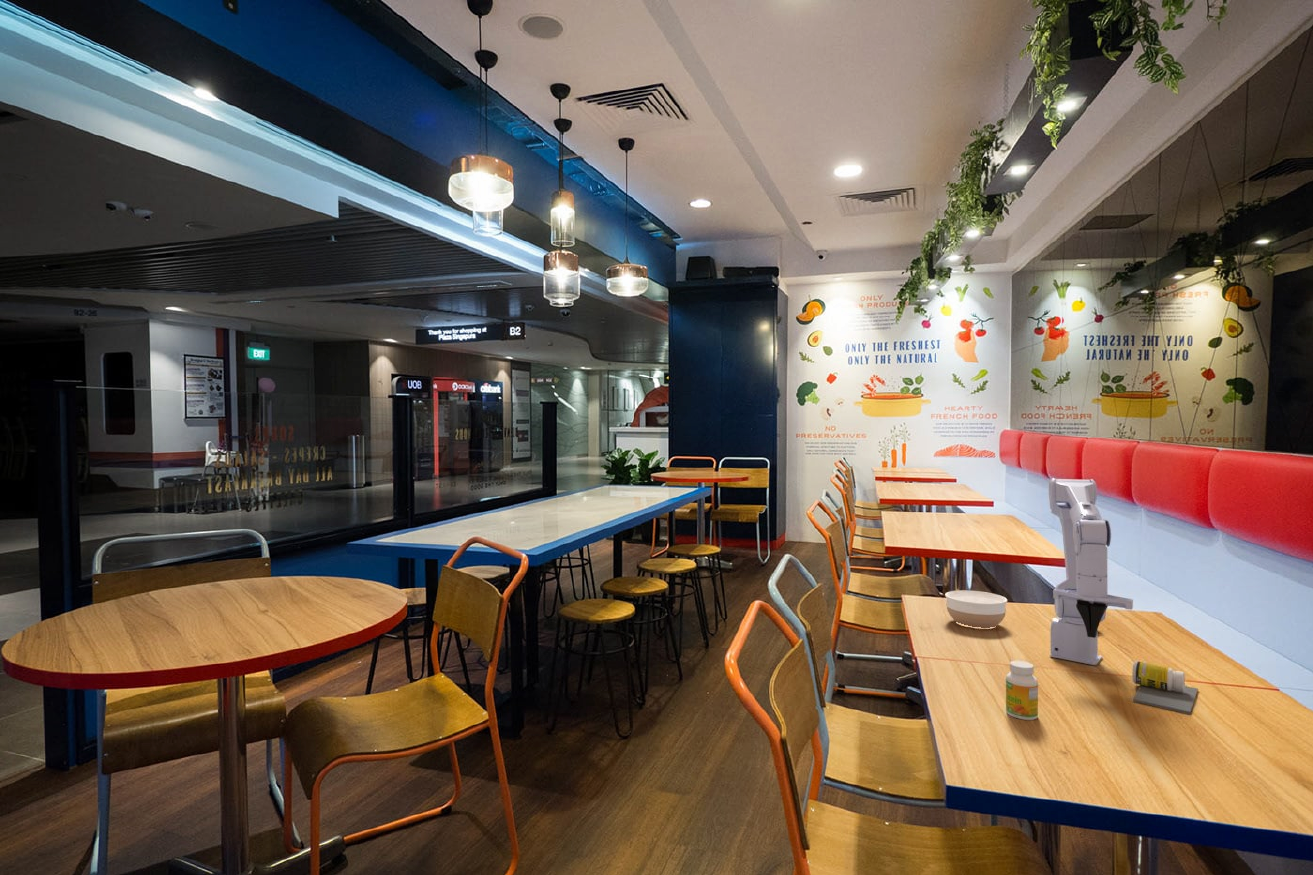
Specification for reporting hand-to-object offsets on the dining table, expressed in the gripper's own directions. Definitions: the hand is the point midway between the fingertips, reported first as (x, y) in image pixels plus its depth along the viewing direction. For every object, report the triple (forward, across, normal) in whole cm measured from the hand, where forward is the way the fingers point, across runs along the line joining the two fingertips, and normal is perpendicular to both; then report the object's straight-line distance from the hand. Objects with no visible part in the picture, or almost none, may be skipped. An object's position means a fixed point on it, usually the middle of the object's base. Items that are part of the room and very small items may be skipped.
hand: (1092, 636), depth 145 cm
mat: (+9, +13, -1) cm, 16 cm away
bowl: (+10, -33, +28) cm, 44 cm away
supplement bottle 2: (+6, +7, +2) cm, 10 cm away
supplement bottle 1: (+10, -6, -31) cm, 33 cm away
